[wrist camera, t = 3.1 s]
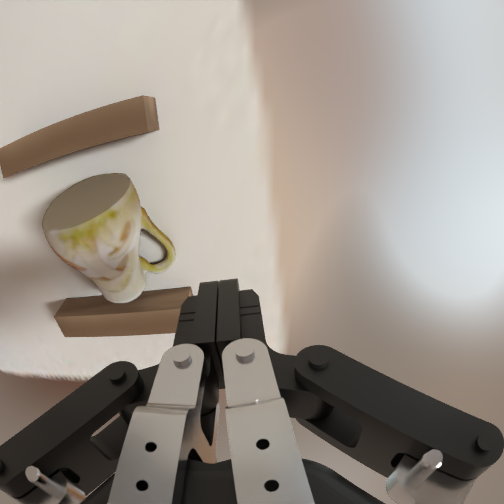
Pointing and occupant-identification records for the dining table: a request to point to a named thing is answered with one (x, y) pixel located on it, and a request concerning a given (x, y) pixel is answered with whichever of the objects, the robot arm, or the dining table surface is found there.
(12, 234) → the dining table surface
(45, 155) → the wooden guide rails
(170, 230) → the dining table surface
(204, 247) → the dining table surface
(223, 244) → the dining table surface
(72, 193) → the mug
